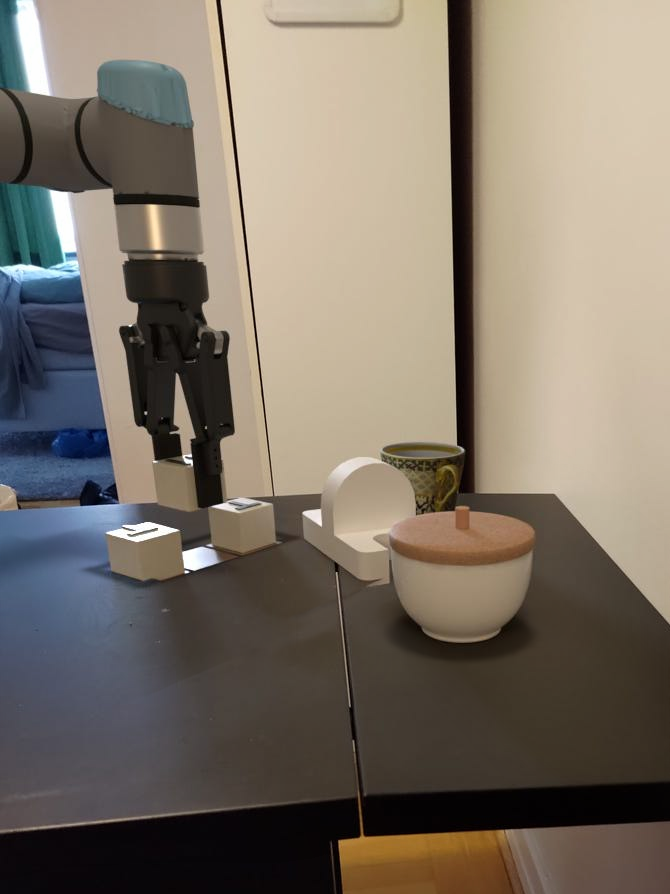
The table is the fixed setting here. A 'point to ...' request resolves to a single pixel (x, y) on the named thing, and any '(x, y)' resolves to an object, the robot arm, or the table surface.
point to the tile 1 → (146, 551)
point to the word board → (210, 557)
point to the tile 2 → (242, 524)
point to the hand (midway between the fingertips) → (192, 500)
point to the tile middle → (179, 483)
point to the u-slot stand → (360, 516)
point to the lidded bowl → (461, 571)
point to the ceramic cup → (429, 472)
